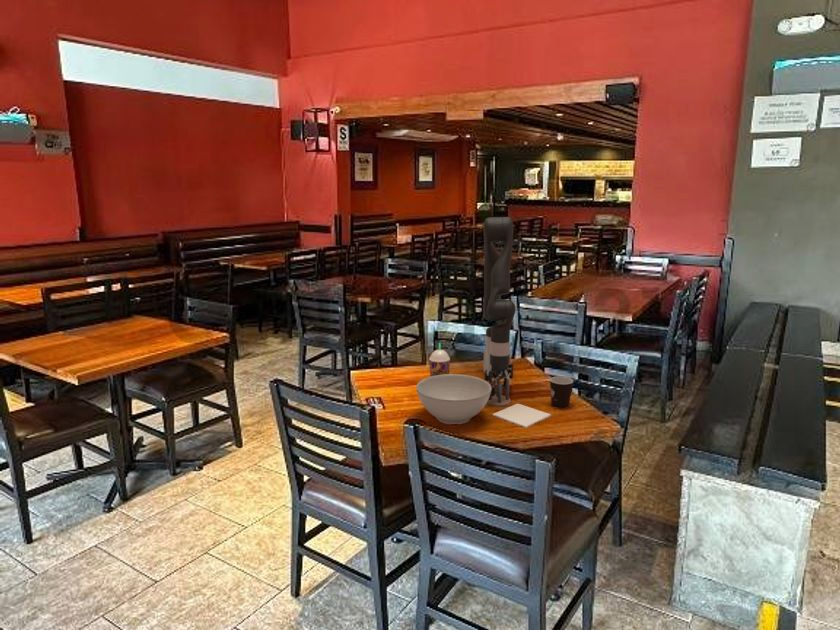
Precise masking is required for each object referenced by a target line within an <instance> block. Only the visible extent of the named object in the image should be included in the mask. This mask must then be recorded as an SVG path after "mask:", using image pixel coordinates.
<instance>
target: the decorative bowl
mask: <svg viewBox="0 0 840 630" xmlns="http://www.w3.org/2000/svg"><path fill="white" fill-rule="evenodd" d="M488 382H489V381H488ZM488 382H487V381H485V379H483V378H480V377H477V376H474V375H468V374H460V373H459V374H458V373H449V374H444V375H436V376H428V377H425V378H423V379H422V380H421V379H420V381H419V382H418V383H417V384H416V386H415V388H416V392H417V393H416V394H417V396H418V399H419V401H420V402H421V404H422V406H423V407H424V409H425V410H426V411H427V412H428V413H429V414H430V415H432V416H433V417H435V418H436V420H437V421H438V420H439V421H438V422H440V423H442V422H443V423H442V424H445V423H446V424H445V425H451V424H458V425H463V423H464V424H466V423H468V422H470V420H471V419H472V418H473V417H475V416H477V415H478V414H479V413H480V412H482V410H483V409H484V407H485V406H486V405H487V401H488V399H489V397H490V394H491V390H492V387H491V385H490V384H489V383H488Z"/></svg>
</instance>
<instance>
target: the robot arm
mask: <svg viewBox="0 0 840 630" xmlns="http://www.w3.org/2000/svg"><path fill="white" fill-rule="evenodd" d="M513 238H514V223H513V219H512V218H511V217H510V216H490V217H486V218H485V219H484V222H483V244H484V247H483V248H484V262H483V282H484V284H483V285H484V288H483V289H484V291H483V293H484V294H483V306H482V307H483V308H482V312H483V318H484V319H485V320H487V321H500V322H498V323H497V324H494V325H492V326H489V327H487V328H486V330H485V350H484V351H483V365H482V366H483V367H482V369H483V373H484V380H485V381H487V382H488V383H489V384H490V385H491V387H492V390H491V394H490V396H492V397H493V396H494V395H496V393H495V389H496V385H497V382H498V380H499V379H500V380H501V379H503V381H502V386H505V387H506V379H509V383H510V382H511V380H513V379H514V364H512V363H511V360H510V359H511V343H510V342H511V328H512V327H511V326H512V323H513V321H514V317H515V315H516V308H517V307H516V304H515V302H514V301H512V300H509V299H505V298H504V299H503V298H498V297H501V296H505V295H508V294H509V293H510V292H511V261H512V252H513ZM494 242H504V243H503V244H504V245H503V249H502V251H501V253H500V252H499V251H498V250H497V248H496V246H495V245H494Z"/></svg>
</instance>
